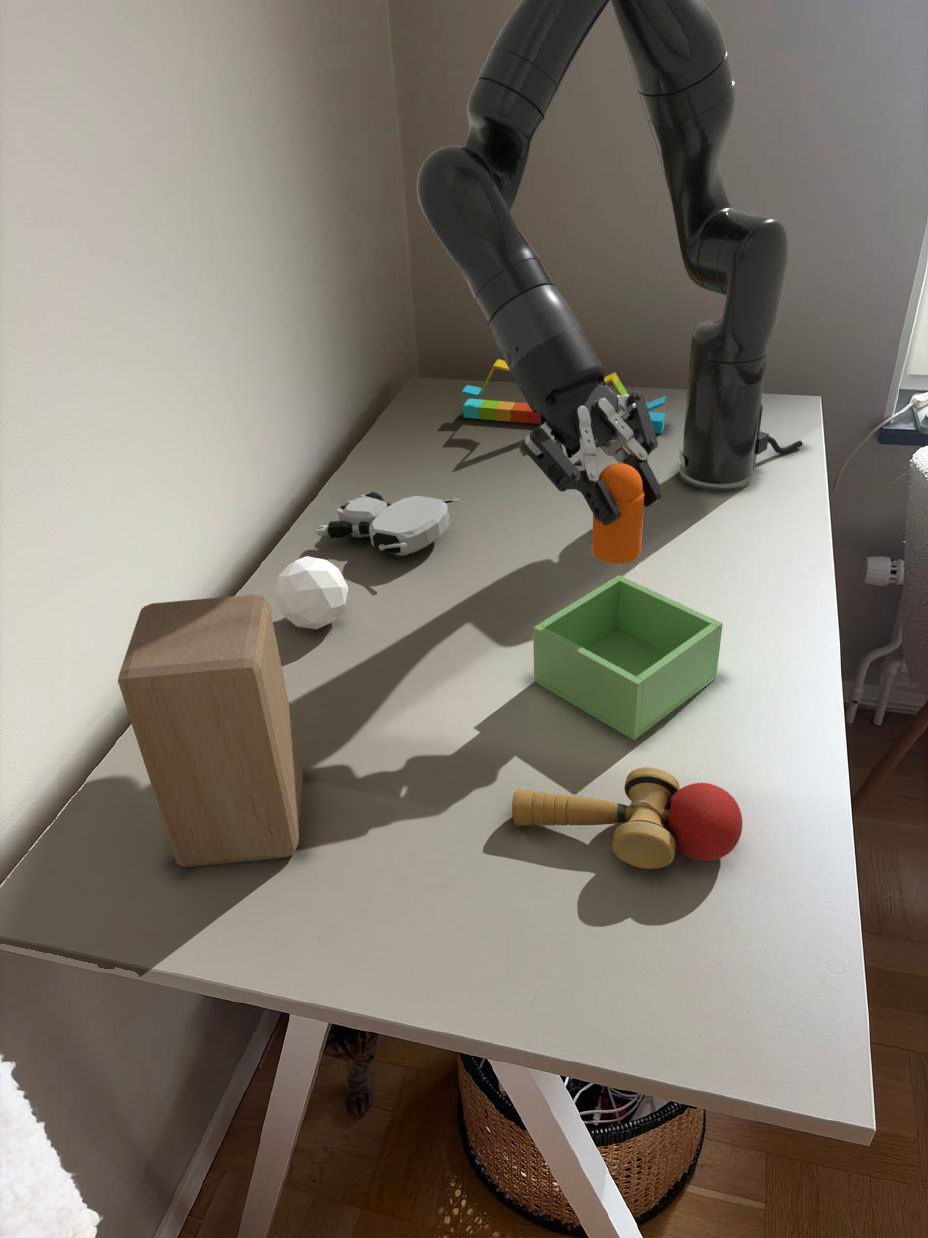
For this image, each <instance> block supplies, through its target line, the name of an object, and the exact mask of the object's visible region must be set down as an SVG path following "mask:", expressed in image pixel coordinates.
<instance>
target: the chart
mask: <svg viewBox="0 0 928 1238" xmlns="http://www.w3.org/2000/svg"><path fill="white" fill-rule="evenodd" d="M495 369H497V370H502V371H506V372H510V373H511V371H510V369H509V368H508V366H507V364H506V362H505V360H504V359H499V358H498V359H497V360H496V361H495V362H494V364H493V365H492V366H491V369H490V371H489V373H488V375H487V376H486V379H485V381H484V383H483V385H482V387H478V386H474V385H470V384H467V385H466V386H465V387H464V388H463V389H462V390H461V394H463V395H468V396H471V397H476V398H467V400H466V401H465V402H464V404H463V405H462V412H463V414H462V415H463V418H464V419H476V420H477V419H478V420H487V421H499V422H510V423H523V424H535V425H540V418H539V415H538V413H535V412H533V411H532V410H531V408H530V406H529V405H528V403H527V402H515V401H502V400H491V399H478V398H479V397H480V396H481V395H482V393H483V392H484V391H485V389H486V387H487V385H488V383H489V381H490V379H491V377H492V375H493V373H494V372H495ZM604 381H605V383H606V385H608V384H609V383H612V385H613V386H614V388H615V390H616V392H617V393H618V394H619V396H620V395H629V393H628V391H627V390H626V388H625V387H624V385H623V382H622V381H621V380H620V378H619V377H618V375H617V373H616V372H612V373H611V374H608V375H606V376H604ZM666 398H667V395H664V396H662V397H659V398H656V399H654V400H652V401H650V402H646V405H647V408H648V411H649V415H650V418H651V422H652V425H653V428H654V432H655V434H663V431H664V429H665V423H666V412H653V410H654V409H657V408H659V407H662V406H664V404H665V402H666ZM651 411H652V412H651ZM618 415H620V414H619V412H618ZM622 420H623V419H622Z"/></svg>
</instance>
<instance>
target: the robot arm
mask: <svg viewBox="0 0 928 1238" xmlns="http://www.w3.org/2000/svg"><path fill="white" fill-rule="evenodd" d="M608 3H610V4H611V8H612V11H613V14H614V17H615V21H616V23H617V26H618V29H619V32H620V35H621V39H622V42H623V44H624V47H625V50H626V53H627V56H628V57H627V58H628V59H629V63H630V66H631V70H632V74H633V78H634V81H635V85H636V89H637V92H638V96H639V99H640V102H641V106H642V108H643V112H644V115H645V118H646V121H647V123H648V126H649V129H650V132H651V134H652V138H653V141H654V145H655V147H656V151H657V154H658V158H659V162H660V165H661V169H662V173H663V176H664V179H665V183H666V186H667V190H668V193H669V197H670V198H669V199H670V202H671V208H672V212H673V219H674V223H675V228H676V234H677V239H678V244H679V249H680V255H681V258H682V262H683V265H684V268H685V271H686V273H687V275H688V277H689V279H690V280H691V281H692V282H693V283H694V284H695V285H696V286H698V287H700V288H701V289H704V290H707V291H710V292H713V293H718V294H720V295H723V296H726V298H725V303H724V304H725V305H724V308H723V312H722V316H715V317H712V318H708V319H705V320H703V321H700V322H698V323H697V324H696V325H695V326H694V328H693V330H692V334H691V340H690V341H691V343H690V353H689V354H690V355H689V366H688V377H687V378H688V380H687V391H686V405H685V415H684V416H685V417H684V428H683V440H682V449H679V454H678V455H679V456H678V458H679V460H680V466H679V477H680V479H681V480H682V481H683V482H684V483H686V484H687V485H689V486H691V487H693V488H695V489H699V490H703V491H709V492H727V491H728V492H729V491H736V490H739V489H742V488H744V487H746V486H747V485H749V484H750V483H751V482H752V481H753V474H754V472H755V470H756V463H757V456H758V455H760V454H762V453H763V452H765V451H767V450H768V445H769V444H770V445H771V447H772V449H773V450H774V452H775V453H776V454H781V455H786V454H789V453H790V452H793V451H794V450H797V449H798V448H801V447H802V446H803V444H804V443H803V441H802V440H797V441H795V442H793V443H792V444H789V445H788V446H785V447H780V445H779V443H778V442H777V440H776V439H775V438H774V437H772V436H770V433H768V432H764V431H762V430H761V425H762V417H763V416H762V415H763V409H764V407H763V404H762V398H763V389H764V383H765V374H766V367H767V357H768V351H769V345H770V340H771V338H772V335H773V333H774V331H775V328H776V326H777V323H778V320H779V319H778V318H779V313H780V307H781V303H782V297H783V291H784V287H785V281H786V278H787V277H786V276H787V271H788V264H789V256H790V241H789V234H788V232H787V229H786V227H785V225H784V224H783V223H782V221H780V220H778V219H776V218H773V217H771V216H766V215H761V214H756V213H752V212H747V211H743V210H737V209H736V208H735V207H734V206H733V205H732V203H731V200H730V198H729V197H728V192H727V190H726V186H725V182H724V178H723V173H722V172H723V171H722V156H723V153H724V148H725V146H726V144H727V140H728V137H729V135H730V133H731V129H732V125H733V122H734V117H735V113H736V106H737V89H736V84H735V83H736V82H735V79H734V76H733V71H732V66H731V63H730V58H729V54H728V49H727V45H726V41H725V38H724V35H723V31H722V30H721V27H720V25H719V23H718V21H717V20H716V17H715V16H714V15H713V13H712V11H711V9H710V8H709V7H708V5H707V4H706V2H705V1H704V0H520V2H519V3H517V5H516V7H515V8H514V9H513V11H512V12H511V14H510V15H509V17H508V18H507V19H506V20H505V22H504V24H503V26H501V27H502V28H501V29H500V31H499V33H498V34H497V36H496V38H495V40H494V42H493V44H492V45H491V48H490V50H489V52H488V53H487V57H486V59H485V61H484V63H483V65H482V67H481V69H480V71H479V74H478V75H477V77H476V80H475V82H474V84H473V86H472V89H471V91H470V93H469V96H468V99H467V103H466V115H467V120H468V133H467V136H466V139H465V141H464V145H463V146H462V145H446V146H441V147H439V148H437V149H435V150H434V151H432V152H431V153H429V155H428V156H427V157H426V158H425V159H424V161H423V162H422V163H421V166H420V168H419V171H418V174H417V177H416V178H417V179H416V197H417V201H418V204H419V207H420V210H421V212H422V214H423V215H424V217H425V219H426V221H427V222H428V224H429V226H430V228H431V229H432V231H433V233H434V234H435V236H436V237H437V239H438V240H439V242H440V243H441V245H442V247H443V248H444V249H445V251H446V253H447V254H448V255H449V257H450V258H451V259H452V261H453V262H454V264H455V265H456V267H457V268H458V269H459V271H460V272H461V274H462V276H463V278H464V280H465V281H466V284H467V285H468V287H469V289H470V292H471V294H472V297H473V299H474V300H475V302H476V304H477V306H478V308H479V311H480V312H481V313H482V315H483V317H484V320H485V321H486V323H487V325H488V326H489V329H490V331H491V333H492V335H493V338H494V341H495V344H496V347H497V349H498V351H499V353H500V354H501V357H502V358H503V360H504V361H505V362H506V364H507V366H508V368H509V369H510V373H511V376H512V377H513V379H514V381H515V383H516V384H517V386H518V388H519V389H520V392H521V394H522V395H523V398H524V399H525V401H526V403H528V405H529V406H530V408H531V410H532V411H533V412H535V413H538V415H539V418H540V424H539V426H535V427H534V428H533V429H532V430H531V431H530V432H529V433H528V434H527V435H526V436H525V437H524V438H523V439H522V440H521V442H520V446H521V449H522V450H523V451H524V452H525V453H526V454H527V456H529V458H530V459H531V460H532V461H533V462H534V463H535V464H536V466H537V467H538V468H539V469H540V470H541V471H542V473H543V474H544V475H545V476H546V477H547V479H548V480H549V481H550V482H551V483H552V484H553V485H554V487H555V488H556V489H557V490H558V491H559V492H566V491H567V490H576V491H577V492H580V493H581V494H582V496H583V498H584V500H585V502H586V503H587V506H588V507H589V510H590V511H591V513H592V516H593V515H594V517H595V518H596V519H597V520H598V521H599V522H600V521H601V522H602V524H603V525H605V526H606V525H609V524H611V523H613V522H614V521H616V520H617V519H619V518H620V517H621V512H620V510H619V508H618V506H617V505H616V503H615V501H614V499H613V497H612V495H611V493H610V492H609V490H608V488H607V486H606V484H605V482H604V481H603V479H602V480H600V481H598V479H599V475H600V473H599V470H598V465H597V461H596V455H597V448H600V449H601V450H602V451H603V452H604V454H605V455H607V456H609V457H613V458H614V459H615V460H616V461H617V462H618V463H623V464H627V465H630V466H632V467H633V468H634V469H635V470H636V471H637V472H638V473H639V474H640V476H641V479H642V484H643V490H644V508H648V507H651V506H653V505H654V504H655V503H658V502H659V501H660V500H661V499H662V498H663V497H662V496H663V495H662V487H661V484H660V482H659V481H658V479H657V477H656V475H655V473H654V471H653V470H652V468H651V466H650V464H649V462H648V458H649V456H650V454H651V453H652V452H653V451H654V450H655V449H657V448H658V447H659V441H658V439H657V435H656V433H655V432H654V428H653V425H652V422H651V418H650V415H649V412H650V411H648V408H647V405H646V403H647V402H646V398H645V395H644V393H643V391H641V390H639V389H635V390H634V391H632V392H631V393H629V394H628V395H620V394H619V395H617V393H616V392H615V391H614V390H612V389H611V388H610V387H609V386H608V384H606V383H605V381H604V377H605V369H604V366H603V364H602V362H601V360H600V358H599V357H598V355H597V352H596V351H595V349H594V348H593V346H592V344H591V342H590V341H589V338H588V337H587V335H586V333H585V331H584V330H583V327H582V325H581V324H580V321H578V318H577V316H576V314H575V313H574V310H572V307H571V306H570V305H569V304H568V302H567V300H566V299H565V298H564V296H563V295H562V294H561V293H560V291H559V289H558V288H557V286H556V284H555V282H554V281H553V279H552V277H551V275H550V273H549V272H548V270H547V268H546V267H545V264H544V262H543V261H542V259H541V257H540V256H539V253H537V251H536V249H535V248H534V247H533V245H532V244H531V242H530V241H529V240H528V239H527V238H526V237H525V235H524V234H523V233H522V231H521V230H520V229H519V226H518V225H517V223H516V221H515V220H514V217H513V215H512V214H511V211H512V208H513V206H514V204H515V201H516V198H517V196H518V194H519V193H518V192H519V189H520V187H521V184H522V181H523V178H524V175H525V172H526V171H525V170H526V168H527V164H528V160H529V157H530V153H531V148H532V146H533V143H534V139H535V137H536V135H537V133H538V131H539V129H540V128H541V126H542V124H543V122H544V120H545V119H546V116H547V114H548V112H549V110H550V109H551V106H552V105H553V102H554V101H555V98H556V96H557V94H558V92H559V90H560V88H561V86H562V84H563V83H564V80H565V78H566V76H567V75H568V72H569V70H570V69H571V66H572V64H573V62H574V60H575V58H576V57H577V55H578V53H579V52H580V49H581V47H582V46H583V44H584V43H585V40H586V39H587V37H588V35H589V34H590V32H591V30H592V29H593V27H594V25H596V22H597V21H598V19H599V17H600V16H601V14H602V13H603V11H604V10H605V8H606V7H607V5H608ZM618 412H619V414H620V415H618ZM622 419H623V420H622ZM616 435H617V437H616ZM615 437H616V439H613V438H615ZM557 443H558V444H560V445H561V448H560V447H559V446H558V445H557ZM561 449H562V450H561Z"/></svg>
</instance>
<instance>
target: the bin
mask: <svg viewBox="0 0 928 1238" xmlns="http://www.w3.org/2000/svg"><path fill="white" fill-rule="evenodd" d="M532 633H533V635H532V636H533V682H535V683H536V684H537V685H539V686H541V687H543V688H544V689H546V690H548V691H549V692H551V693H553V694H554V695H556V696H558V697H560V698H561V699H563V700H564V701H566V702H568V703H570V704H571V705H573V706H575V707H576V708H579V709H580V710H582V711H583V712H585V713H587V714H588V715H589V716H591V717H594V718H595V719H597V720H598V721H600V722H602V723H603V724H605V725H607V726H609V727H610V728H612V729H614V730H615V731H617V732H619V733H621V735H624V736H626V737H627V738H629V739H630V740H632V741H636V740H637V739H638V738H640V737H641V736H642V735H644V734H645V733H646V732H647V731H649V730H650V729H652V728H654V726H656V725H657V724H658V723H659V722H661V721H662V720H663V719H665V718H666V717H668V715H670V714H671V713H672V712H674V711H676V710H677V709H679V707H681V706H682V705H683V704H685V703H686V702H687V701H688V700H690V699H691V698H692V697H693V696H695V695H696V694H697V693H699V692H700V691H702V690H703V688H705V687H706V686H708V685H709V684H711V683H712V682H713V681H714V680H716V679H717V673H718V665H719V656H720V649H721V640H722V633H723V622H720V621H719V620H717V619H714V618H712V617H710V616H708V615H706V614H704V613H702V612H699V611H697V610H695V609H694V608H690V607H689V606H687V605H684V604H682V603H680V602H678V601H676V600H674V599H671V598H669V597H667V596H665V595H663V594H661V593H658V592H656V591H653V590H651V589H650V588H647V587H645V586H643V585H641V584H639V583H637V582H635V581H633V580H630V579H628V578H626V577H624V576H622V575H620V574H617V575H616V576H615V577H613V578H612V579H610V580H608V581H606V582H605V583H603V584H602V585H600V586H599V587H597V588H595V589H594V590H591V591H590V592H588V593H587V594H585V595H583V596H582V597H580V598H579V599H577V600H576V601H573V602H572V603H570V604H569V605H567V606H566V607H564V608H562V609H561V610H559V611H557V612H556V613H555V614H552V615H551V616H549V617H548V618H546V619H545V620H543V621H541V622H539V623H537V624H536V625H534V626H533V629H532Z"/></svg>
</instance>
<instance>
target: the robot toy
mask: <svg viewBox="0 0 928 1238" xmlns="http://www.w3.org/2000/svg"><path fill="white" fill-rule="evenodd" d="M460 501H461V499H460V498H458V497H456V498H453V499H445V500H443V499H441V498H435V497H430V496H429V497H428V496H422V495H412V496H408V497H403V498H401V499H399V500H397V501H395V502H393V503H391V502H385V500H384V498H383V496H382V495H380V494H379V493H377V492H375V491H371V492H366V493H365V494H361V495H360V497H357V498H355V499H351V500H348V501H345V504H343V505H341V506H339V507H338V508H337V517H338V520H335V521H334V520H333V521H329V523H328V525H327V524H322V525H319V526H318V527H317V528H316V530H315V531H316V532H315V533H316V535H317V536H318V537H319V536H320V537H324V536H327V535H329V539H343V538H346V537H348V536H349V535H351V536H352V537H353V538H364V537H367V538H370V542H371V545H372V546H373V547H374V548H375V549H376V550H377V551H380V552H385V553H389V554H390V553H391V554H393V555H395V556H400V557H401V556H402V557H404V556H408V555H410V554H413V553H416V552H419V551H420V550H423V549H424V548H426V547H428V546H429V545H431V544H433V543H434V542H435V541H437V540H438V539H439V538H440V537H441V536H442V535H443V533H444V532H445V531H446V529H448V526H449V525H450V515H449V509H448V508H449V507H448V504H449V503H451V504H452V503H459V502H460Z"/></svg>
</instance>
